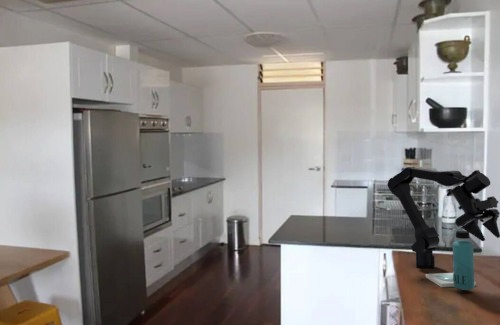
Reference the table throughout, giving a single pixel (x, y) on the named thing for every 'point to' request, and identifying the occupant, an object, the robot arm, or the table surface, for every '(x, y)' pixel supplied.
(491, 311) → the table surface
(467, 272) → the beverage bottle
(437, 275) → the pad
